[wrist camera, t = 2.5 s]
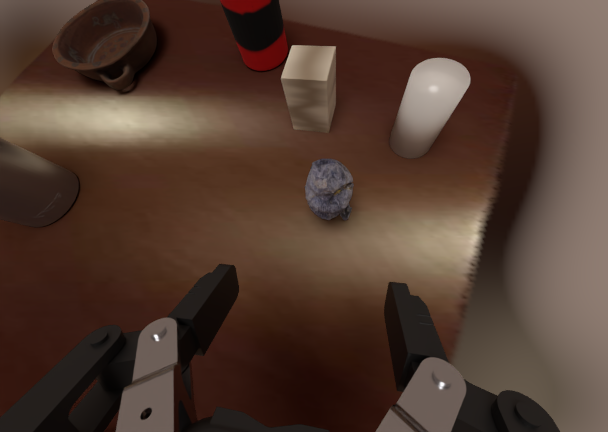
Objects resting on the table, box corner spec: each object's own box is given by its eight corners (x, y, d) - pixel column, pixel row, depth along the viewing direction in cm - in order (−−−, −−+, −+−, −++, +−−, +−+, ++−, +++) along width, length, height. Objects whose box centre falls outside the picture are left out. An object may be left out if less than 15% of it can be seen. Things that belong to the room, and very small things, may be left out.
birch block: (293, 129, 32) (280, 78, 25) (301, 101, 34) (292, 45, 26) (328, 132, 31) (326, 80, 24) (335, 104, 33) (335, 46, 25)
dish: (81, 115, 39) (47, 91, 35) (81, 39, 47) (53, 10, 42) (176, 78, 39) (154, 48, 35) (160, 7, 47) (141, -25, 42)
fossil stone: (360, 202, 27) (373, 153, 18) (335, 239, 26) (335, 207, 17) (322, 181, 29) (316, 126, 19) (298, 215, 28) (279, 174, 18)
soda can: (259, 35, 40) (229, -68, 29) (297, 45, 38) (280, -62, 26) (235, 65, 38) (193, -32, 27) (272, 77, 36) (244, -22, 25)
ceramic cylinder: (382, 148, 29) (400, 88, 21) (399, 120, 30) (424, 52, 22) (420, 164, 28) (456, 107, 19) (437, 134, 29) (479, 67, 20)
